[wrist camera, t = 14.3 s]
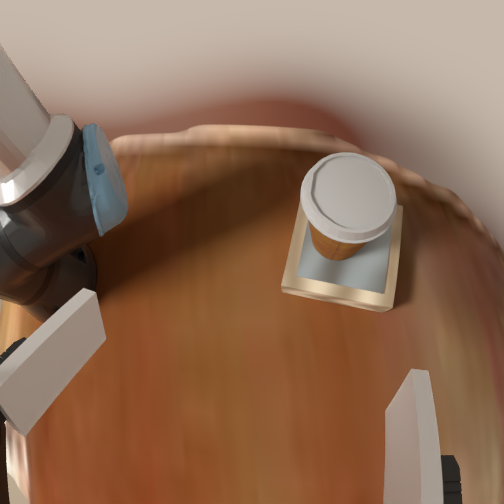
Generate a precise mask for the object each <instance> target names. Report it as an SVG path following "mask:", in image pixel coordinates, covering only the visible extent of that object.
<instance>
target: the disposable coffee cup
mask: <svg viewBox="0 0 504 504" xmlns="http://www.w3.org/2000/svg"><path fill="white" fill-rule="evenodd" d="M301 203H302V208H303V210H304V212H305V214H306V216H307V218H308V221H309V227H310V232H311V238H312V243H313V245H314V247H315V249H316V250H317V252H319V253H320V254H321V255H322V256H323V257H325V258H327V259H330V260H335V261H340V260H345V259H347V258H349V257H351V256H352V255H353V254H354V253H356V252H357V251H358V250H359V249H360V248H362V247H363V246H364V245H365V244H366V243H367V242H368V241H371V240H374V239H375V238H377V237H379V236H380V235H382V234H383V233H384V232H385V231H386V230H387V229H388V228H389V227H390V225H391V224H392V222H393V220H394V217H395V214H396V210H397V199H396V193H395V188H394V185H393V183H392V180H391V178H390V176H389V175H388V173H387V172H386V171H385V170H384V169H383V168H382V167H381V166H380V165H379V164H378V163H377V162H375V161H374V160H372V159H370V158H368V157H366V156H363V155H360V154H357V153H348V152H341V153H336V154H331V155H329V156H327V157H325V158H323V159H321V160H320V161H319V162H318V163H316V164H315V165H314V166H313V167H312V168H311V169H310V170H309V172H308V173H307V174H306V176H305V178H304V180H303V182H302V186H301Z"/></svg>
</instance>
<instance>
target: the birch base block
mask: <svg viewBox="0 0 504 504" xmlns="http://www.w3.org/2000/svg"><path fill="white" fill-rule="evenodd" d="M402 216H403V206H402V205H397V210H396V214H395V217H394V220H393V222H392V224H391V225H390V227H389V228H388V229H387V230H386V231H385V232H384V233H383V234H382V235H380V236H379V237H377V238H375V239H374V240H371V241H368V242H367V243H366V244H365V245H364V246H363V247H362V248H360V249H359V250H358V251H357V252H356V253H354V254H353V255H352V256H351V257H349V258H347V259H345V260H340V261H335V260H330V259H327V258H325V257H323V256H322V255H321V254H320V253H319V252H317V250H316V249H315V247H314V245H313V243H312V238H311V232H310V227H309V221H308V218H307V216H306V214H305V212H304V210H303V208H302V203H301V199H300V204H299V208H298V213H297V218H296V222H295V227H294V231H293V236H292V240H291V245H290V249H289V254H288V258H287V263H286V267H285V271H284V276H283V280H282V284H281V288H282V292H284V293H289V294H293V295H298V296H303V297H307V298H312V299H317V300H322V301H327V302H332V303H337V304H342V305H347V306H352V307H357V308H362V309H367V310H372V311H377V312H383V313H384V312H386V311H388V310H390V309H392V308H393V302H394V295H395V288H396V280H397V272H398V263H399V253H400V243H401V230H402Z"/></svg>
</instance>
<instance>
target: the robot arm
mask: <svg viewBox="0 0 504 504" xmlns="http://www.w3.org/2000/svg"><path fill="white" fill-rule="evenodd" d="M127 212H128V199H127V194H126V189H125V186H124V182H123V179H122V176H121V172H120V169H119V167H118V164H117V161H116V158H115V156H114V153H113V151H112V149H111V146H110V144H109V142H108V140H107V138H106V136H105V134H104V132H103V131H102V129H101V128H100V127H99V126H98V125H97V124H90V125H85V126H84V127H83V128H82V129H81V130H80V129H79V128H78V127H77V125H76V124H75V123H74V121H73V120H72V119H71V117H70V116H68V115H67V114H62V113H61V114H60V113H57V114H49V113H48V112H47V110H46V109H45V108H44V106H43V105H42V103H41V102H40V101H39V99H38V98H37V97H36V96H35V94H34V92H33V91H32V90H31V88H30V87H29V85H28V84H27V83H26V82H25V80H24V78H23V77H22V76H21V74H20V73H19V71H18V70H17V68H16V67H15V65H14V64H13V62H12V61H11V59H10V58H9V57H8V55H7V54H6V52H5V51H4V49H3V47H2V46H1V44H0V299H2V300H5V301H9V302H12V303H15V304H18V305H21V306H22V307H23V308H24V309H25V310H27V311H28V312H29V313H30V314H31V315H32V316H34V317H35V318H36V319H37V320H39V321H41V322H43V323H44V324H42V325H41V326H40V327H39V328H38V329H37V330H36V331H35V332H34V333H33V334H32V335H31V336H30V337H29V338H28V339H26V338H25V337H24V338H22V339H20V340H18V341H16V342H14V343H13V344H12V345H11V346H10V347H9V348H8V349H7V350H6V352H3V353H2V354H1V355H0V504H10V502H9V492H8V481H7V466H6V427H5V424H4V422H5V421H6V420H7V421H8V422H9V424H10V425H11V426H12V427H13V428H14V429H15V430H16V431H18V432H19V433H20V434H21V435H23V436H24V437H25V436H26V435H27V434H28V432H29V431H30V430H31V428H32V427H33V426H34V425H35V423H36V422H37V421H38V420H39V418H40V417H41V416H42V415H43V413H44V412H45V411H46V410H47V408H48V407H49V406H50V405H51V404H52V402H53V401H54V400H55V399H56V397H57V396H58V395H59V394H60V393H61V391H62V390H63V389H64V388H65V387H66V385H67V384H68V383H69V382H70V381H71V379H72V378H73V377H74V376H75V375H76V374H77V372H78V371H79V370H80V369H81V368H82V366H83V365H84V364H85V363H86V362H87V361H88V359H89V358H90V357H91V356H92V355H93V354H94V353H95V351H96V350H97V349H98V348H99V347H100V346H101V345H102V343H103V342H104V341H105V340H106V335H105V331H104V326H103V322H102V318H101V313H100V309H99V304H98V299H97V294H96V292H94V290H95V286H96V276H97V274H96V264H95V260H94V257H93V254H92V252H91V251H90V249H89V248H88V246H87V245H86V244H87V243H89V242H91V241H93V240H95V239H97V238H99V237H101V236H103V235H104V234H105V233H106V232H107V231H109V230H110V229H112V228H113V227H115V226H117V225H118V224H120V223H121V222H122V221H123V220H124V219H125V217H126V215H127ZM460 481H461V478H460V468H459V465H458V463H457V461H456V459H455V457H454V456H453V455H440V445H439V436H438V428H437V420H436V413H435V407H434V400H433V394H432V388H431V383H430V377H429V372H428V371H426V370H418V369H411V370H410V371H409V373H408V375H407V377H406V378H405V380H404V382H403V383H402V385H401V387H400V388H399V390H398V392H397V393H396V395H395V396H394V398H393V400H392V401H391V403H390V404H389V406H388V407H387V409H386V410H385V480H384V498H383V504H462V494H461V491H462V490H461V483H460Z"/></svg>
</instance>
